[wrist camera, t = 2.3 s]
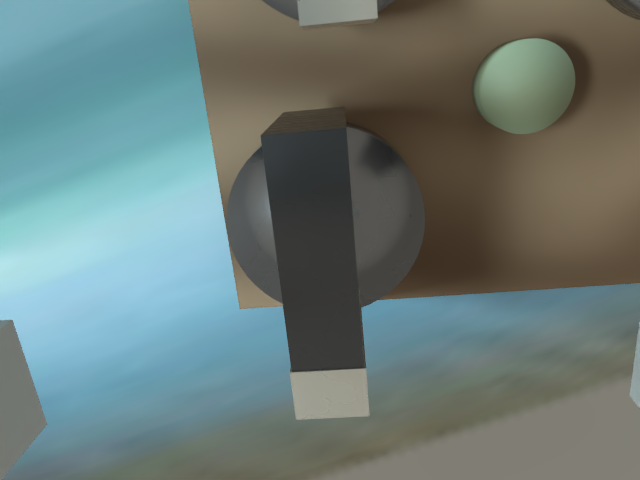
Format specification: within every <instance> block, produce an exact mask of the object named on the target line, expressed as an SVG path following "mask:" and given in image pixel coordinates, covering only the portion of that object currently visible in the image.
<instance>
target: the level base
mask: <svg viewBox="0 0 640 480" xmlns="http://www.w3.org/2000/svg"><path fill="white" fill-rule="evenodd" d="M188 2H189V8H190V14H191V20H192V26H193V32H194V38H195V44H196V50H197V56H198V62H199V68H200V74H201V80H202V86H203V92H204V98H205V104H206V110H207V116H208V122H209V128H210V134H211V140H212V146H213V152H214V158H215V163H216V169H217V175H218V181H219V187H220V193H221V199H222V205H223V211H224V217H225V223H226V215H227V204H228V199H229V195H230V192H231V189H232V185H233V183H234V181H235V179H236V177H237V175H238V173H239V171H240V170H241V168H242V167H243V165H244V164H245V163H246V161H247V160H248V159H249V158H250V157H251V156H252V154H253V153H254V152H255V151H256V150H257V149H258V148H259V147H260V146H261V145H262V144H261V136H260V135H261V134H262V133H263V132H264V131H265V130H266V129H267V128H268V127H269V126H270V125H271V124H272V123H273V122H274V121H275V120H276V119H277V118H278V117H279V116H280V115H281V114H282V113H283V112H291V111H302V110H313V109H324V108H334V107H345V117H346V121H347V122H351V123H355V124H358V125H360V126H363V127H365V128H368V129H369V130H371V131H373V132H375V133H377V134H378V135H380V136H381V137H382V138H384V139H385V140H386V141H388V142H389V143H390V144H391V145H392V146H393V147H394V148H395V149H396V150H397V151H398V153H399V154H400V155H401V157H402V158H403V159H404V161H405V162H406V164H407V165H408V167H409V169H410V170H411V172H412V174H413V176H414V178H415V179H416V181H417V184H418V186H419V189H420V192H421V195H422V199H423V203H424V211H425V231H424V236H423V241H422V245H421V248H420V251H419V254H418V256H417V258H416V260H415V262H414V264H413V266H412V267H411V269H410V270H409V272H408V273H407V275H406V276H405V277H404V278H403V279H402V281H401V282H400V283H399V284H398V285H397V286H396V287H395V288H393V289H392V290H391V291H390V292H389V293H387V294H386V295H385V296H383V297H382V298H380V299H379V300H385V299H401V298H416V297H431V296H447V295H462V294H477V293H493V292H508V291H523V290H539V289H554V288H569V287H585V286H600V285H615V284H631V283H640V20H637V19H634V18H632V17H630V16H627V15H625V14H623V13H622V12H620V11H618V10H617V9H615V8H614V7H612V6H611V5H610V4H609V3H608V2H607V1H606V0H395V1H394V2H393V3H392V4H391V5H389V6H388V7H386V8H385V9H383V10H381V11H380V12H378V18H377V19H376V20H375V21H374V22H373V23H367V24H357V25H347V26H338V27H328V28H318V29H309V30H304V29H303V28H301V27H300V24H299V21H297V20H295V19H292V18H290V17H287V16H285V15H283V14H282V13H280V12H278V11H276V10H275V9H273V8H272V7H270V6H269V5H267V4H266V3H265V2H263V1H262V0H188ZM226 229H227V223H226ZM227 235H228V233H227ZM228 241H229V237H228ZM229 247H230V253H231V259H232V265H233V271H234V277H235V283H236V289H237V295H238V301H239V307H240V309H248V308H263V307H278V306H283V304H282V303H280V302H278V301H276V300H274V299H273V298H271V297H270V296H268V295H267V294H265V293H264V292H263V291H262V290H260V289H259V288H258V287H257V286H256V285H255V284H254V283H253V282H252V281H251V280H250V279H249V278H248V277H247V275H246V274H245V273H244V271H243V270H242V268H241V267H240V265H239V263H238V262H237V260H236V258H235V256H234V253H233V251H232V248H231V245H230V242H229Z"/></svg>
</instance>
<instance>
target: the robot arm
mask: <svg viewBox="0 0 640 480" xmlns="http://www.w3.org/2000/svg"><path fill="white" fill-rule="evenodd" d="M630 397H631V399H632V400H633V401H634V402H635V403H636V404H637V406H638V407H639V408H640V323H639V330H638V338H637V345H636V352H635V360H634V367H633V374H632V382H631V389H630ZM46 425H47V422H46V419H45V416H44V413H43V410H42V407H41V404H40V401H39V398H38V395H37V392H36V389H35V386H34V383H33V380H32V377H31V374H30V371H29V368H28V365H27V362H26V359H25V356H24V353H23V350H22V347H21V344H20V341H19V338H18V335H17V332H16V329H15V326H14V323H13V320H2V321H0V480H2V479H3V477H4V476H5V475H6V474H7V473H8V471H9V470H10V469H11V468H12V466H13V465H14V464H15V463H16V462H17V460H18V459H19V458H20V457H21V455H22V454H23V453H24V452H25V451H26V449H27V448H28V447H29V446H30V445H31V443H32V442H33V441H34V440H35V438H36V437H37V436H38V435H39V434H40V432H41V431H42V430H43V429H44V427H45V426H46Z"/></svg>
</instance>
